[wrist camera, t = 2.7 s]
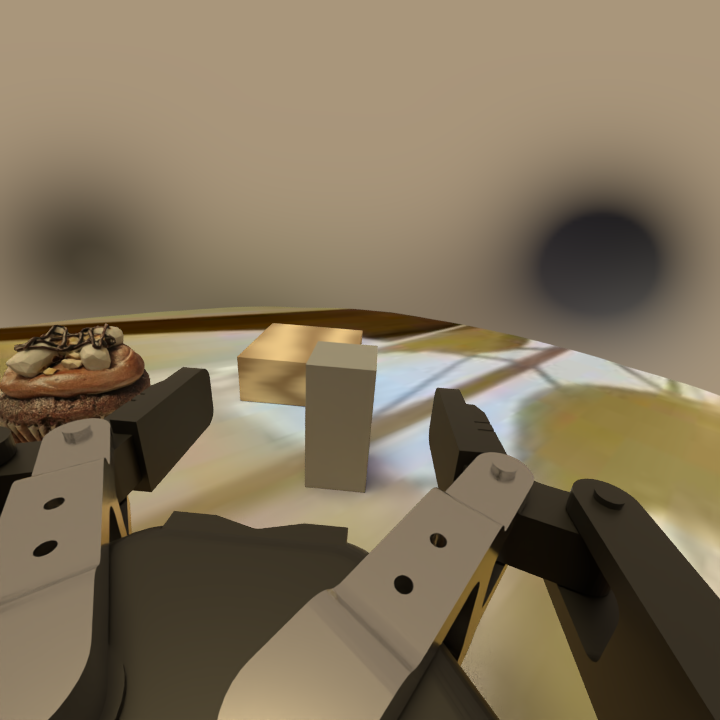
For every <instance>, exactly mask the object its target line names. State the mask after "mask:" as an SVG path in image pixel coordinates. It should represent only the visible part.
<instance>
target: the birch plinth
mask: <svg viewBox="0 0 720 720" xmlns="http://www.w3.org/2000/svg"><path fill="white" fill-rule="evenodd" d="M318 341H324V342H336V343H347V344H359V345H361V344H362V331H359V330H347V329H335V328H323V327H311V326H299V325H288V324H276V323H272V324H271V325H270V326H269V327H268V328H267V329H266V330H265V331H264V332H263V333H262V334H261V335H260V336H259V337H258V338H257V339H256V340H255V341H254V342H252V343H251V344H250V345H249V346H248V347H247V348H246V349H245V350H244V351H243V352H242V353H241V354H240V355H239V356H238V357H237V360H238V373H239V386H240V399H241V400H242V401H253V402H264V403H275V404H286V405H297V406H305V404H306V363H307V361H308V359H309V357H310V356H311V354H312V352H313V350H314V348H315V346H316V344H317V342H318Z"/></svg>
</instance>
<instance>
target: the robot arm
mask: <svg viewBox="0 0 720 720" xmlns="http://www.w3.org/2000/svg"><path fill="white" fill-rule="evenodd" d="M212 417H213V401H212V393H211V384H210V376H209V373H208V371H207V370H206V369H199V368H187V367H183V368H181V369H180V370H178V371H177V372H175V373H174V374H172V375H171V376H170V377H168V378H167V379H165V380H164V381H161V382H159V383H156V384H154V385H151V386H150V387H148V388H147V389H145V390H144V391H143V392H141V393H140V395H137V396H135V397H134V398H132V399H131V401H128V402H127V403H125V404H124V405H122V406H121V407H120V408H118V409H117V410H115V411H114V412H112V413H111V414H109V415H108V416H107V417H105V418H104V419H99V418H89V419H82V420H77V421H73V422H70V423H67V424H64V425H61V426H59V427H57V428H55V429H53V430H52V431H50V432H49V433H48V434H46V435H45V436H44V438H43V440H42V441H35V442H25V443H15V441H14V439H13V436H12V434H11V431H10V429H8V428H7V427H2V426H0V720H499V718H498V717H497V716H496V714H495V713H494V712H493V710H492V709H491V707H490V706H489V705H488V703H487V702H486V701H485V699H484V698H483V697H482V695H481V694H480V692H479V691H478V690H477V688H476V687H475V686H474V684H473V683H472V682H471V680H470V679H469V677H468V676H467V675H466V673H465V672H464V671H463V669H462V668H461V664H462V662H463V660H464V658H465V655H466V653H467V651H468V649H469V646H470V644H471V641H472V639H473V636H474V633H475V631H476V628H477V626H478V624H479V621H480V619H481V617H482V615H483V613H484V611H485V609H486V607H487V605H488V603H489V602H490V600H491V598H492V596H493V594H494V592H495V590H496V588H497V586H498V584H499V582H500V580H501V578H502V576H503V574H504V572H505V570H506V568H507V566H508V565H509V566H512V567H515V568H517V569H520V570H522V571H525V572H528V573H530V574H533V575H536V576H538V577H541V578H543V579H544V582H545V585H546V587H547V590H548V592H549V595H550V598H551V600H552V603H553V605H554V608H555V610H556V613H557V616H558V618H559V621H560V623H561V626H562V628H563V631H564V634H565V636H566V639H567V641H568V644H569V646H570V649H571V652H572V654H573V657H574V659H575V662H576V664H577V667H578V670H579V672H580V675H581V677H582V680H583V682H584V685H585V688H586V690H587V693H588V695H589V698H590V700H591V703H592V706H593V708H594V711H595V713H596V716H597V718H598V720H720V599H719V597H718V596H717V595H716V594H715V593H714V591H713V590H712V589H711V588H710V587H709V586H708V584H707V583H706V582H705V581H704V580H703V578H702V577H701V576H700V575H699V574H698V572H697V571H696V570H695V569H694V568H693V566H692V565H691V564H690V563H689V562H688V561H687V559H686V558H685V557H684V556H683V555H682V553H681V552H680V551H679V550H678V549H677V547H676V546H675V545H674V544H673V543H672V542H671V540H670V539H669V538H668V537H667V536H666V534H665V533H664V532H663V531H662V530H661V528H660V527H659V526H658V525H657V524H656V522H655V521H654V520H653V519H652V518H651V517H650V515H649V514H648V513H647V512H646V511H645V509H644V508H643V507H642V506H641V505H640V504H639V503H638V501H637V500H635V499H634V498H633V497H632V496H631V495H629V494H628V493H626V492H625V491H623V490H621V489H619V488H618V487H616V486H613V485H611V484H609V483H606V482H603V481H599V480H594V479H580V480H578V481H576V482H575V483H574V484H573V486H572V489H571V491H570V492H567V491H563V490H560V489H557V488H553V487H550V486H547V485H544V484H541V483H538V482H536V481H534V476H533V474H532V472H531V470H530V469H529V468H528V467H527V466H526V465H525V464H524V463H522V462H521V461H519V460H518V459H516V458H513V457H511V456H509V455H507V454H506V452H505V450H504V448H503V446H502V444H501V442H500V441H499V439H498V437H497V435H496V433H495V432H494V429H493V428H492V426H491V424H490V422H489V420H488V418H487V416H486V415H485V413H484V412H483V411H481V410H480V409H479V408H478V407H476V406H475V405H471V404H466V403H465V401H464V399H463V396H462V394H461V392H460V390H459V389H446V388H437V389H436V391H435V396H434V402H433V409H432V415H431V422H430V428H429V445H430V450H431V455H432V459H433V464H434V469H435V474H436V479H437V483H438V488H437V487H435V488H433V489H432V490H430V491H429V492H428V493H427V494H426V495H425V496H424V498H423V499H422V500H421V501H420V502H419V503H418V504H417V505H416V506H415V507H414V508H413V509H412V510H411V511H410V512H409V513H408V514H407V515H406V516H405V517H404V518H403V519H402V520H401V521H400V522H399V523H398V524H397V525H396V526H395V527H394V528H393V529H392V530H391V532H390V533H389V534H388V535H387V536H386V537H385V538H384V539H383V540H382V541H381V542H380V543H379V544H378V545H377V546H376V547H375V548H374V549H373V550H372V551H371V552H370V553H368V552H367V551H365V550H363V549H361V548H359V547H357V546H355V545H353V544H350V543H347V535H348V528H346V527H335V526H325V525H314V524H297V525H288V526H280V527H271V528H263V529H254V528H251V527H248V526H245V525H242V524H240V523H237V522H234V521H231V520H228V519H226V518H223V517H220V516H217V515H209V514H199V513H188V512H178V511H174V512H173V513H172V515H171V516H170V518H169V519H168V520H167V522H166V523H165V524H164V526H158V527H153V528H148V529H145V530H141V531H138V532H135V533H132V528H131V511H130V502H129V498H128V494H129V493H130V492H131V491H132V490H135V491H145V492H152V491H153V490H154V489H155V488H156V486H157V485H158V484H159V483H160V482H161V481H162V479H163V478H164V477H165V476H166V475H167V474H168V472H169V471H170V470H171V469H172V468H173V467H174V466H175V464H176V463H177V462H178V461H179V460H180V459H181V457H182V456H183V455H184V454H185V453H186V452H187V451H188V449H189V448H190V447H191V446H192V445H193V444H194V442H195V441H196V440H197V439H198V438H199V437H200V436H201V434H202V433H203V432H204V431H205V430H206V429H207V427H208V426H209V425H210V423H211V421H212Z"/></svg>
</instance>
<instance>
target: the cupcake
mask: <svg viewBox="0 0 720 720" xmlns="http://www.w3.org/2000/svg"><path fill="white" fill-rule="evenodd" d="M14 350H16V351H17V352H18V353H17V354H16V355H14V356H13V357H12V358H10V359H9V360H8V361H7V362H6V364H7V366H8V368H7V370H6V371H5V373H4V376H3V379H2V381H1V383H0V389H1V391H2V392H3V394H2V395H1V396H0V426H2V427H7V428H8V429H10V431H11V434H12V436H13V439H14V441H15V443H25V442H35V441H42V440H43V438H44V436H45V435H46V434H48V433H49V432H50V431H52V430H53V429H55V428H57V427H59V426H61V425H64V424H67V423H70V422H73V421H77V420H82V419H89V418H99V419H104V418H105V417H107V416H108V415H109V414H111V413H112V412H114V411H115V410H117V409H118V408H120V407H121V406H122V405H124V404H125V403H127V402H128V401H131V399H132V398H134V397H135V396H137V395H140V393H141V392H143V391H144V390H145V389H147V388H148V387H150V386H151V384H150V378H149V375H148V373H147V372H146V370H145V369H144V366H145V365H144V361H143V359H142V358H141V356H140V355H139V354H137V353H135V352H134V351H133V350H132V349H131V348H130V347H129V346H127V345H125V344H123V333H122V331H121V330H120V329H119V328H117V327H109V325H108V324H105V325H104V327H103V326H96V327H93V328H89V327H87V328H84V329H82V330H81V331H80V332H79V333H77V334H69V333H68V329H67V328H66V327H64V326H59V325H54V326H52V328H51V329H50V330H49V331H48V333H46V334H43V335H42V336H41V337H33V338H31V339H30V340H29V341H28V342H27V343H24V344H19V345H15V347H14Z"/></svg>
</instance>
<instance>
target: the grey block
mask: <svg viewBox="0 0 720 720" xmlns="http://www.w3.org/2000/svg"><path fill="white" fill-rule="evenodd" d="M376 369H377V346H371V345H359V344H347V343H336V342H324V341H318V342H317V344H316V346H315V348H314V350H313V352H312V354H311V356H310V357H309V359H308V361H307V363H306V404H305V487H313V488H323V489H333V490H343V491H353V492H363V493H365V485H366V475H367V464H368V454H369V443H370V433H371V423H372V412H373V402H374V391H375V381H376Z"/></svg>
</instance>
